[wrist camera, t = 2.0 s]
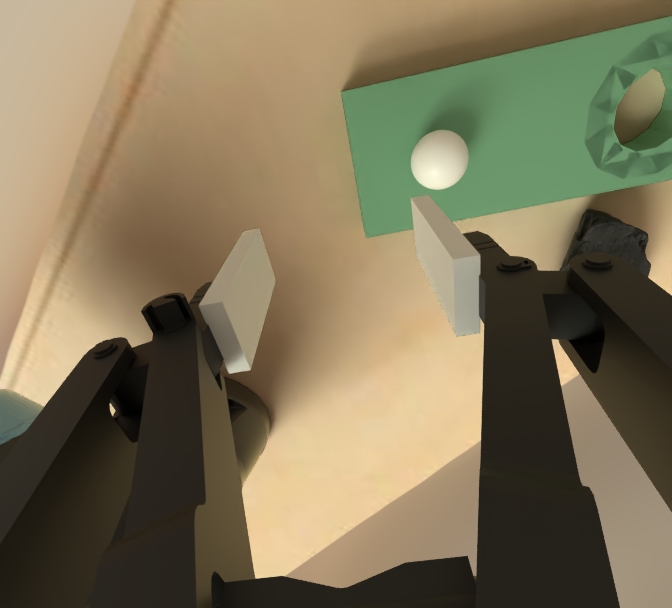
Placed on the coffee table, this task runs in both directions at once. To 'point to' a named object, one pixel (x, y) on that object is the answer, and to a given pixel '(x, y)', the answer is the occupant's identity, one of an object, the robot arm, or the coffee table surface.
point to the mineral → (609, 240)
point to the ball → (439, 159)
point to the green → (514, 127)
